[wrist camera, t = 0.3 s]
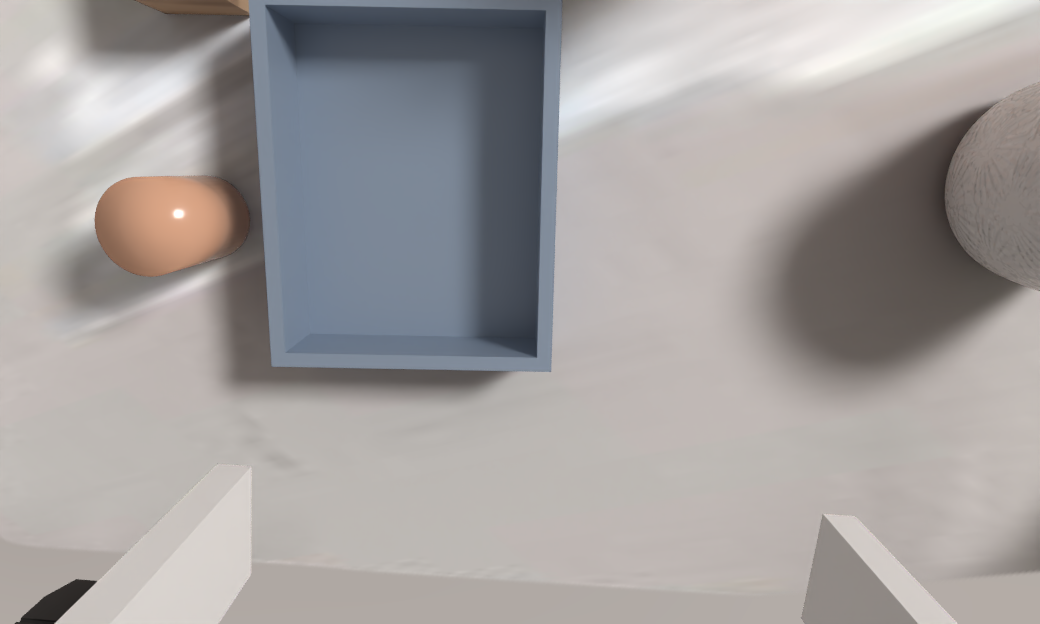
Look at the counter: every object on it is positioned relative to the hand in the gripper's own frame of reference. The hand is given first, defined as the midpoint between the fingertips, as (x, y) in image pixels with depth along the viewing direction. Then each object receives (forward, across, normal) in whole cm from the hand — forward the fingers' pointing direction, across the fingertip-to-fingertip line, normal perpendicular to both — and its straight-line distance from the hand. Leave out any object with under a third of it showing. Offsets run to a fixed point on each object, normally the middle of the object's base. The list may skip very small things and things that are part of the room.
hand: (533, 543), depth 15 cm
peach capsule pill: (+27, -20, +4) cm, 33 cm away
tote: (+27, -7, +7) cm, 28 cm away
